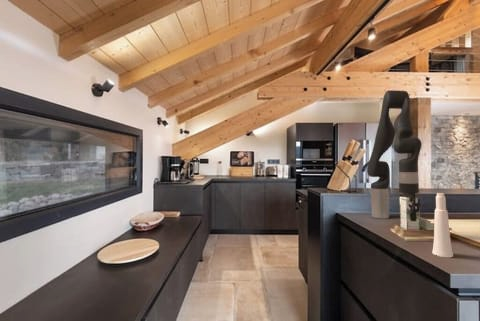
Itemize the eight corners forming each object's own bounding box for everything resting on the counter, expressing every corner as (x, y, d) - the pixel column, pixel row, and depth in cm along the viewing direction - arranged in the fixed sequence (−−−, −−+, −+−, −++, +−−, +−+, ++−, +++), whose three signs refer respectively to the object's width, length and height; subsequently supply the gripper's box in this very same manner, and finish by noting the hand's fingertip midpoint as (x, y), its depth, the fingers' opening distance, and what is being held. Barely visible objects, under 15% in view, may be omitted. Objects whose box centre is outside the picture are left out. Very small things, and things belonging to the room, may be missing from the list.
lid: (416, 224, 121) (415, 216, 121) (438, 224, 120) (438, 217, 120) (427, 230, 112) (427, 221, 112) (452, 230, 111) (451, 221, 111)
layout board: (390, 230, 127) (389, 223, 127) (428, 230, 124) (428, 223, 124) (406, 240, 110) (406, 232, 110) (451, 241, 108) (451, 233, 108)
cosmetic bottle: (442, 251, 97) (439, 192, 97) (458, 256, 91) (455, 194, 91) (427, 252, 96) (425, 192, 96) (443, 258, 90) (440, 194, 90)
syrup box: (413, 227, 120) (412, 195, 120) (420, 230, 114) (419, 197, 114) (400, 227, 121) (399, 196, 121) (407, 230, 115) (405, 197, 115)
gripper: (426, 183, 110) (427, 223, 110) (409, 180, 124) (411, 216, 124) (407, 183, 111) (408, 223, 111) (392, 181, 125) (394, 216, 125)
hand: (409, 219), depth 118 cm, fingers closed on syrup box, 6 cm apart
